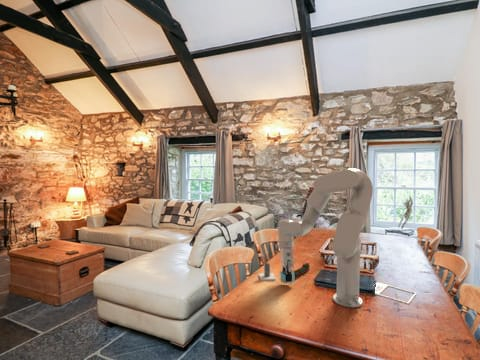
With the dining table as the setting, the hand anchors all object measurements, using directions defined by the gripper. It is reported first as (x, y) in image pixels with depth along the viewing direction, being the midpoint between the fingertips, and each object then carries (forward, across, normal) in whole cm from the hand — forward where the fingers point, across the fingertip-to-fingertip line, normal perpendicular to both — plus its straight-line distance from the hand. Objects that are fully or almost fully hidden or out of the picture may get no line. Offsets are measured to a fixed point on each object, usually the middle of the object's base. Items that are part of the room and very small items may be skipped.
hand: (287, 278), depth 146 cm
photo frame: (+7, -9, -49) cm, 50 cm away
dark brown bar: (+4, +16, -11) cm, 20 cm away
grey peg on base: (+3, +11, +9) cm, 14 cm away
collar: (+1, 0, 0) cm, 1 cm away
